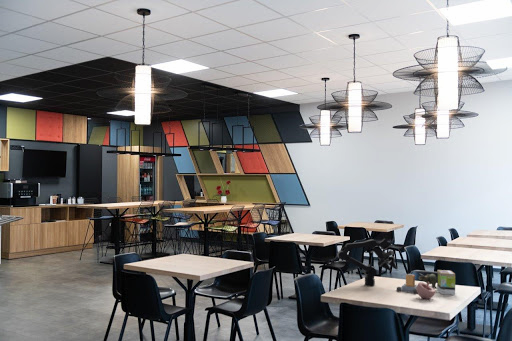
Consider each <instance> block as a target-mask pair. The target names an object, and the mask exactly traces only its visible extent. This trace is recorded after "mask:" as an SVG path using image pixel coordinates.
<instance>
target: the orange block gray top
mask: <svg viewBox="0 0 512 341" xmlns="http://www.w3.org/2000/svg"><path fill="white" fill-rule="evenodd" d="M405 284H406V286H410V287H415V285H416V275H415V274H412V273H407V274H406V275H405Z"/></svg>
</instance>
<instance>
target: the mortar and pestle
mask: <svg viewBox="0 0 512 341" xmlns="http://www.w3.org/2000/svg"><path fill="white" fill-rule="evenodd" d="M416 285H417V293H416V294H417V295H418V296H419V297H421V299H425V300H428V299H429V300H430V299H431V298H433V297H434V296H435V294H436V290H435V289H433V288H432V285H431V284H430V283H429V282H427V283H426V282H424V281H423V282H422V281H420V282H418V283H417V284H416Z"/></svg>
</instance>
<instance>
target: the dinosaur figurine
mask: <svg viewBox="0 0 512 341" xmlns="http://www.w3.org/2000/svg"><path fill="white" fill-rule="evenodd" d="M418 274H420V275H419V276H418V280H419V281H423V283H425V284H427V282H429V283H430V284H429V285H431V287H432V288H433V289H434V290H435V289H437V274H434V273H431V274H429V273H427V274H426V275H424V274H422V273H420V272H419V273H418Z"/></svg>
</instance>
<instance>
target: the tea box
mask: <svg viewBox="0 0 512 341" xmlns="http://www.w3.org/2000/svg"><path fill="white" fill-rule="evenodd" d="M436 272H437V273H436V280H437V281H436V291H438V293H440V294H441V295H449V296H450V295H453V296H454V295H456V273H455V272H453V271H452V270H445V269H443V270H442V269H437V271H436Z"/></svg>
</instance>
